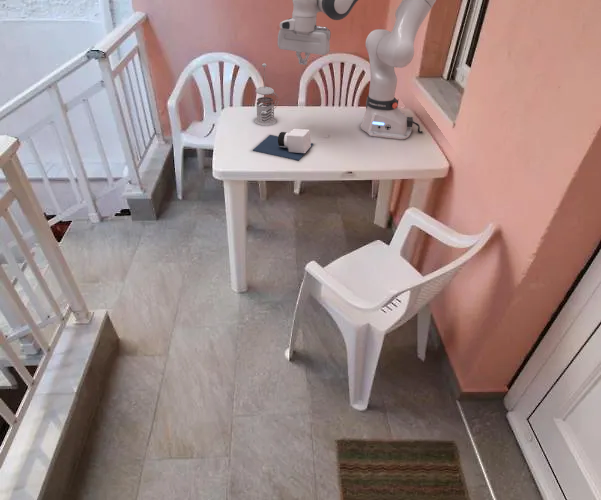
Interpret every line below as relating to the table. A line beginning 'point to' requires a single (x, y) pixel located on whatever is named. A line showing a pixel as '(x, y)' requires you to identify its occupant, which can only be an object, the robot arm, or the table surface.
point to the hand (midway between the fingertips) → (302, 64)
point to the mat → (277, 149)
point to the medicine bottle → (295, 140)
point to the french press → (262, 116)
